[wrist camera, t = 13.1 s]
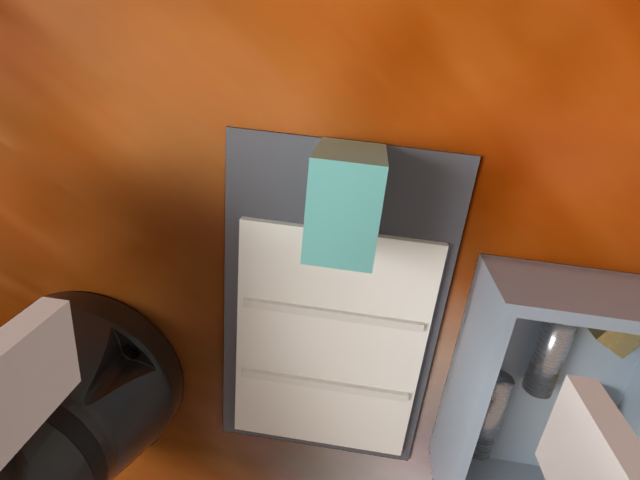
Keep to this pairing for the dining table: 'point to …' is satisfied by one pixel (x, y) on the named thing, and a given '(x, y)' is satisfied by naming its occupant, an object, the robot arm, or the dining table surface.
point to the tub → (514, 355)
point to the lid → (334, 310)
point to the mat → (289, 206)
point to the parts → (543, 373)
